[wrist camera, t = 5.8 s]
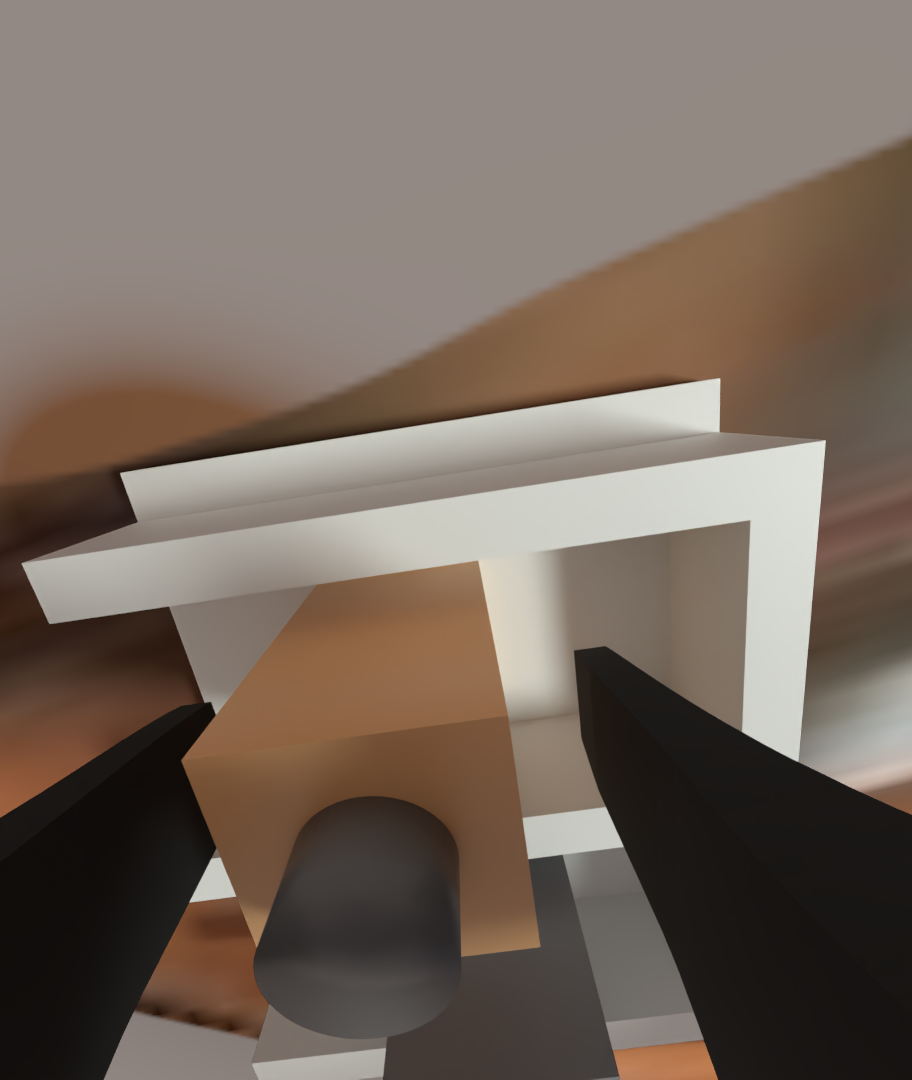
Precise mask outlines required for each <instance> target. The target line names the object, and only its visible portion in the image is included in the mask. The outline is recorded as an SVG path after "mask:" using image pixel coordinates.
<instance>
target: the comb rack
mask: <svg viewBox="0 0 912 1080" xmlns="http://www.w3.org/2000/svg"><path fill="white" fill-rule="evenodd" d="M719 419H720V378H718V379H710V380H702V381H695V382H689V383H683V384H676V385H670V386H664V387H657V388H651V389H645V390H638V391H632V392H626V393H619V394H613V395H607V396H600V397H594V398H588V399H582V400H575V401H569V402H563V403H556V404H550V405H544V406H537V407H531V408H525V409H518V410H512V411H506V412H499V413H493V414H487V415H480V416H474V417H468V418H461V419H455V420H449V421H442V422H436V423H430V424H423V425H417V426H411V427H405V428H398V429H392V430H386V431H379V432H373V433H367V434H360V435H354V436H348V437H341V438H335V439H329V440H322V441H316V442H310V443H303V444H297V445H291V446H284V447H278V448H272V449H265V450H259V451H253V452H246V453H240V454H234V455H228V456H221V457H215V458H209V459H202V460H196V461H190V462H183V463H177V464H171V465H164V466H158V467H152V468H145V469H140V470H134V471H129V472H123V473H120V475H121V478H122V480H123V483H124V486H125V488H126V491H127V494H128V497H129V499H130V502H131V505H132V507H133V510H134V513H135V516H136V518H137V521H138V522H137V523H134V524H132V525H129V526H126V527H123V528H120V529H117V530H115V531H112V532H109V533H106V534H103V535H100V536H98V537H95V538H92V539H89V540H86V541H83V542H81V543H78V544H75V545H72V546H69V547H66V548H64V549H61V550H58V551H55V552H52V553H49V554H47V555H44V556H41V557H38V558H35V559H32V560H29V561H27V562H24V563H21V564H22V566H23V568H24V570H25V572H26V574H27V577H28V579H29V581H30V583H31V585H32V588H33V590H34V592H35V594H36V596H37V598H38V601H39V603H40V605H41V607H42V609H43V611H44V614H45V616H46V618H47V620H48V622H49V624H54V623H61V622H68V621H74V620H81V619H88V618H95V617H101V616H108V615H115V614H122V613H128V612H135V611H142V610H148V609H155V608H162V607H169V608H170V610H171V613H172V616H173V618H174V621H175V624H176V627H177V629H178V632H179V635H180V637H181V640H182V643H183V646H184V648H185V651H186V654H187V656H188V659H189V662H190V665H191V667H192V670H193V673H194V675H195V678H196V681H197V683H198V686H199V689H200V692H201V694H202V697H203V700H204V702H205V703H206V702H211V703H212V705H213V708H214V711H215V714H216V715H217V713H218V712H219V711H220V709H221V708H222V707H223V706H224V704H225V703H226V702H227V700H228V699H229V698H230V696H231V695H232V694H233V693H234V691H235V690H236V689H237V687H238V686H239V685H240V684H241V682H242V681H243V680H244V678H245V677H246V676H247V674H248V673H249V672H250V671H251V669H252V668H253V667H254V665H255V664H256V663H257V661H258V660H259V659H260V658H261V656H262V655H263V654H264V652H265V651H266V650H267V649H268V647H269V646H270V645H271V643H272V642H273V641H274V639H275V638H276V637H277V636H278V634H279V633H280V632H281V630H282V629H283V628H284V626H285V625H286V624H287V623H288V621H289V620H290V619H291V617H292V616H293V615H294V613H295V612H296V611H297V610H298V608H299V607H300V606H301V604H302V603H303V602H304V601H305V599H306V598H307V597H308V595H309V594H310V593H311V591H312V590H313V589H314V588H315V586H316V585H317V584H324V583H330V582H337V581H344V580H351V579H357V578H364V577H371V576H377V575H384V574H391V573H398V572H404V571H411V570H418V569H425V568H431V567H438V566H445V565H452V564H458V563H465V562H472V561H478V562H479V567H480V572H481V577H482V583H483V588H484V593H485V598H486V603H487V608H488V614H489V619H490V624H491V629H492V634H493V639H494V645H495V650H496V655H497V660H498V665H499V671H500V676H501V681H502V686H503V691H504V696H505V702H506V707H507V712H508V718H509V725H510V732H511V739H512V746H513V754H514V761H515V768H516V775H517V782H518V789H519V796H520V804H521V811H522V818H523V825H524V832H525V839H526V847H527V854H528V859H533V858H541V857H549V856H557V855H563V858H564V862H565V866H566V870H567V873H568V877H569V881H570V885H571V889H572V893H573V897H574V901H575V905H576V909H577V913H578V917H579V920H580V924H581V928H582V932H583V936H584V940H585V944H586V948H587V952H588V956H589V960H590V963H591V967H592V971H593V975H594V979H595V983H596V987H597V991H598V995H599V999H600V1003H601V1007H602V1010H603V1014H604V1018H605V1022H606V1026H607V1030H608V1034H609V1038H610V1042H611V1046H612V1050H620V1049H628V1048H637V1047H646V1046H655V1045H663V1044H672V1043H681V1042H690V1041H698V1040H704V1039H703V1036H702V1034H701V1031H700V1028H699V1025H698V1023H697V1020H696V1017H695V1015H694V1012H693V1009H692V1006H691V1004H690V1001H689V998H688V996H687V993H686V990H685V987H684V985H683V982H682V979H681V976H680V974H679V971H678V968H677V966H676V963H675V961H674V959H673V956H672V954H671V951H670V949H669V947H668V944H667V942H666V939H665V937H664V935H663V932H662V930H661V928H660V925H659V923H658V921H657V919H656V917H655V914H654V912H653V910H652V908H651V906H650V903H649V901H648V899H647V897H646V895H645V892H644V890H643V888H642V886H641V884H640V881H639V879H638V877H637V875H636V873H635V870H634V868H633V866H632V864H631V862H630V859H629V857H628V855H627V853H626V851H625V848H624V846H623V844H622V842H621V840H620V837H619V835H618V833H617V831H616V828H615V826H614V824H613V822H612V820H611V817H610V815H609V813H608V811H607V808H606V806H605V804H604V802H603V799H602V797H601V795H600V793H599V790H598V787H597V784H596V782H595V779H594V776H593V773H592V770H591V767H590V764H589V760H588V757H587V754H586V751H585V748H584V745H583V742H582V739H581V729H580V717H579V706H578V694H577V682H576V671H575V659H574V650H580V649H587V648H595V647H602V646H606V647H608V648H609V649H611V650H613V651H614V652H616V653H617V654H619V655H620V656H622V657H623V658H625V659H626V660H628V661H629V662H631V663H632V664H633V665H635V666H636V667H638V668H639V669H641V670H642V671H644V672H645V673H647V674H648V675H650V676H651V677H653V678H654V679H656V680H657V681H659V682H660V683H662V684H663V685H665V686H667V687H668V688H670V689H671V690H673V691H674V692H676V693H677V694H679V695H681V696H682V697H684V698H685V699H687V700H689V701H690V702H692V703H693V704H695V705H697V706H698V707H700V708H701V709H703V710H705V711H707V712H708V713H710V714H712V715H713V716H715V717H717V718H718V719H720V720H722V721H723V722H725V723H727V724H729V725H730V726H732V727H734V728H736V729H738V730H739V731H741V732H743V733H745V734H746V735H748V736H750V737H752V738H753V739H755V740H757V741H759V742H761V743H762V744H764V745H766V746H768V747H770V748H772V749H774V750H776V751H778V752H779V753H781V754H783V755H785V756H787V757H789V758H791V759H793V760H795V761H797V762H798V759H799V748H800V736H801V724H802V712H803V701H804V689H805V677H806V666H807V654H808V642H809V630H810V619H811V607H812V595H813V584H814V572H815V560H816V548H817V537H818V525H819V513H820V501H821V490H822V478H823V466H824V455H825V443H826V440H815V439H801V438H788V437H775V436H761V435H748V434H734V433H721V432H719ZM228 897H236V895H235V892H234V890H233V887H232V885H231V882H230V880H229V877H228V875H227V873H226V870H225V868H224V865H223V863H222V860H221V858H220V855H219V853H218V850H217V848H216V850H215V852H214V855H213V857H212V859H211V861H210V862H209V864H208V866H207V868H206V870H205V872H204V874H203V876H202V878H201V880H200V882H199V884H198V886H197V888H196V890H195V892H194V894H193V896H192V898H191V900H190V902H197V901H205V900H213V899H221V898H228ZM386 1043H387V1037H384V1038H376V1039H347V1038H339V1037H333V1036H328V1035H324V1034H320V1033H317V1032H314V1031H311V1030H308V1029H306V1028H303V1027H301V1026H299V1025H297V1024H295V1023H293V1022H292V1021H290V1020H288V1019H287V1018H285V1017H284V1016H282V1015H281V1014H280V1013H279V1012H277V1011H276V1010H275V1009H274V1008H273V1007H272V1006H271V1005H270V1004H269V1007H268V1011H267V1014H266V1017H265V1021H264V1024H263V1027H262V1030H261V1034H260V1037H259V1040H258V1044H257V1047H256V1050H255V1053H254V1057H253V1060H252V1063H251V1064H252V1066H253V1068H254V1070H255V1072H256V1075H257V1077H258V1079H259V1080H358V1079H365V1078H366V1079H367V1078H374V1077H383V1073H384V1063H385V1053H386Z"/></svg>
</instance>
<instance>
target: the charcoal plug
mask: <svg viewBox="0 0 912 1080" xmlns="http://www.w3.org/2000/svg"><path fill="white" fill-rule="evenodd" d="M528 861H529V868H530V875H531V882H532V889H533V897H534V904H535V911H536V918H537V925H538V932H539V939H540V947H537V948H529V949H521V950H513V951H505V952H496V953H488V954H480V955H472V956H464V957H461V967H462V971H461V981H460V985H459V988H458V990H457V992H456V995H455V997H454V998H453V1000H452V1001H451V1002H450V1004H449V1005H448V1006H447V1007H446V1008H445V1009H444V1010H443V1011H442V1012H441V1013H440V1014H439V1015H438V1016H436V1017H435V1018H434V1019H432V1020H431V1021H429V1022H428V1023H426V1024H424V1025H422V1026H420V1027H418V1028H416V1029H414V1030H411V1031H408V1032H405V1033H402V1034H398V1035H394V1036H390V1037H387V1043H386V1053H385V1063H384V1073H383V1080H620V1078H619V1073H618V1069H617V1065H616V1061H615V1057H614V1053H613V1050H612V1046H611V1042H610V1038H609V1034H608V1030H607V1026H606V1022H605V1018H604V1014H603V1010H602V1007H601V1003H600V999H599V995H598V991H597V987H596V983H595V979H594V975H593V971H592V967H591V963H590V960H589V956H588V952H587V948H586V944H585V940H584V936H583V932H582V928H581V924H580V920H579V917H578V913H577V909H576V905H575V901H574V897H573V893H572V889H571V885H570V881H569V877H568V873H567V870H566V866H565V862H564V858H563V855H557V856H549V857H541V858H533V859H528Z"/></svg>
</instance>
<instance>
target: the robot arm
mask: <svg viewBox="0 0 912 1080" xmlns="http://www.w3.org/2000/svg"><path fill="white" fill-rule="evenodd" d="M574 659H575V671H576V682H577V694H578V706H579V717H580V729H581V739H582V742H583V745H584V748H585V751H586V754H587V757H588V760H589V764H590V767H591V770H592V773H593V776H594V779H595V782H596V784H597V787H598V790H599V793H600V795H601V797H602V799H603V802H604V804H605V806H606V808H607V811H608V813H609V815H610V817H611V820H612V822H613V824H614V826H615V828H616V831H617V833H618V835H619V837H620V840H621V842H622V844H623V846H624V848H625V851H626V853H627V855H628V857H629V859H630V862H631V864H632V866H633V868H634V870H635V873H636V875H637V877H638V879H639V881H640V884H641V886H642V888H643V890H644V892H645V895H646V897H647V899H648V901H649V903H650V906H651V908H652V910H653V912H654V914H655V917H656V919H657V921H658V923H659V925H660V928H661V930H662V932H663V935H664V937H665V939H666V942H667V944H668V947H669V949H670V951H671V954H672V956H673V959H674V961H675V963H676V966H677V968H678V971H679V974H680V976H681V979H682V982H683V985H684V987H685V990H686V993H687V996H688V998H689V1001H690V1004H691V1006H692V1009H693V1012H694V1015H695V1017H696V1020H697V1023H698V1025H699V1028H700V1031H701V1034H702V1036H703V1039H704V1042H705V1044H706V1047H707V1050H708V1053H709V1055H710V1058H711V1061H712V1064H713V1066H714V1069H715V1072H716V1075H717V1077H718V1080H912V815H911V814H908V813H906V812H904V811H901V810H899V809H896V808H894V807H892V806H890V805H888V804H885V803H883V802H881V801H879V800H876V799H874V798H872V797H870V796H868V795H865V794H863V793H861V792H859V791H857V790H854V789H852V788H850V787H848V786H846V785H844V784H842V783H840V782H838V781H836V780H834V779H832V778H830V777H828V776H826V775H824V774H822V773H819V772H817V771H815V770H813V769H811V768H809V767H807V766H805V765H803V764H801V763H799V762H797V761H795V760H793V759H791V758H789V757H787V756H785V755H783V754H781V753H779V752H778V751H776V750H774V749H772V748H770V747H768V746H766V745H764V744H762V743H761V742H759V741H757V740H755V739H753V738H752V737H750V736H748V735H746V734H745V733H743V732H741V731H739V730H738V729H736V728H734V727H732V726H730V725H729V724H727V723H725V722H723V721H722V720H720V719H718V718H717V717H715V716H713V715H712V714H710V713H708V712H707V711H705V710H703V709H701V708H700V707H698V706H697V705H695V704H693V703H692V702H690V701H689V700H687V699H685V698H684V697H682V696H681V695H679V694H677V693H676V692H674V691H673V690H671V689H670V688H668V687H667V686H665V685H663V684H662V683H660V682H659V681H657V680H656V679H654V678H653V677H651V676H650V675H648V674H647V673H645V672H644V671H642V670H641V669H639V668H638V667H636V666H635V665H633V664H632V663H631V662H629V661H628V660H626V659H625V658H623V657H622V656H620V655H619V654H617V653H616V652H614V651H613V650H611V649H609V648H608V647H606V646H602V647H595V648H587V649H580V650H574ZM215 716H216V714H215V711H214V708H213V705H212V703H211V702H206V703H199V704H192V705H185V706H180V707H179V708H177V709H175V710H173V711H171V712H169V713H167V714H165V715H163V716H162V717H160V718H158V719H157V720H155V721H153V722H151V723H150V724H148V725H146V726H145V727H143V728H142V729H140V730H138V731H137V732H135V733H134V734H132V735H130V736H129V737H127V738H126V739H124V740H122V741H121V742H119V743H118V744H116V745H115V746H113V747H112V748H110V749H108V750H107V751H105V752H104V753H102V754H101V755H99V756H97V757H96V758H94V759H93V760H91V761H90V762H88V763H87V764H85V765H84V766H82V767H80V768H79V769H77V770H76V771H74V772H73V773H71V774H70V775H68V776H66V777H65V778H63V779H62V780H60V781H59V782H57V783H56V784H54V785H52V786H51V787H49V788H48V789H46V790H45V791H43V792H41V793H40V794H38V795H37V796H35V797H33V798H32V799H30V800H28V801H27V802H25V803H24V804H22V805H20V806H19V807H17V808H15V809H14V810H12V811H11V812H9V813H7V814H6V815H4V816H3V817H1V818H0V1080H104V1077H105V1075H106V1072H107V1070H108V1068H109V1066H110V1063H111V1061H112V1058H113V1056H114V1054H115V1052H116V1049H117V1047H118V1044H119V1042H120V1040H121V1038H122V1035H123V1033H124V1031H125V1029H126V1027H127V1025H128V1023H129V1020H130V1018H131V1016H132V1014H133V1012H134V1010H135V1008H136V1006H137V1004H138V1002H139V1000H140V997H141V995H142V993H143V991H144V989H145V987H146V985H147V984H148V982H149V980H150V978H151V976H152V974H153V972H154V970H155V968H156V966H157V964H158V962H159V960H160V958H161V956H162V954H163V952H164V950H165V949H166V947H167V945H168V943H169V941H170V939H171V937H172V935H173V933H174V931H175V929H176V927H177V925H178V923H179V921H180V919H181V917H182V916H183V914H184V912H185V910H186V908H187V906H188V904H189V902H190V900H191V898H192V896H193V894H194V892H195V890H196V888H197V886H198V884H199V882H200V880H201V878H202V876H203V874H204V872H205V870H206V868H207V866H208V864H209V862H210V861H211V859H212V857H213V855H214V852H215V850H216V845H215V843H214V840H213V838H212V835H211V833H210V830H209V828H208V826H207V823H206V821H205V818H204V816H203V813H202V811H201V808H200V806H199V803H198V801H197V798H196V796H195V793H194V791H193V788H192V786H191V784H190V781H189V779H188V776H187V774H186V771H185V769H184V766H183V764H182V761H181V760H182V759H183V757H184V756H185V755H186V754H187V752H188V751H189V750H190V748H191V747H192V746H193V744H194V743H195V742H196V741H197V739H198V738H199V737H200V735H201V734H202V733H203V732H204V730H205V729H206V728H207V726H208V725H209V724H210V722H211V721H212V720H213V719H214V717H215Z"/></svg>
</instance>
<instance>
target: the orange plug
mask: <svg viewBox="0 0 912 1080" xmlns="http://www.w3.org/2000/svg"><path fill="white" fill-rule="evenodd" d="M181 761H182V764H183V766H184V769H185V771H186V774H187V776H188V779H189V781H190V784H191V786H192V788H193V791H194V793H195V796H196V798H197V801H198V803H199V806H200V808H201V811H202V813H203V816H204V818H205V821H206V823H207V826H208V828H209V830H210V833H211V835H212V838H213V840H214V843H215V845H216V848H217V850H218V853H219V855H220V858H221V860H222V863H223V865H224V868H225V870H226V873H227V875H228V877H229V880H230V882H231V885H232V887H233V890H234V892H235V895H236V897H237V900H238V902H239V905H240V907H241V910H242V912H243V915H244V917H245V919H246V922H247V924H248V927H249V929H250V932H251V934H252V937H253V939H254V942H255V944H256V947H257V949H256V953H255V956H254V967H253V968H254V976H255V979H256V982H257V986H258V987H259V989H260V991H261V993H262V995H263V996H264V998H265V999H266V1000H267V1002H268V1003H269V1004H270V1005H271V1006H272V1007H273V1008H274V1009H275V1010H276V1011H277V1012H279V1013H280V1014H281V1015H282V1016H284V1017H285V1018H287V1019H288V1020H290V1021H292V1022H293V1023H295V1024H297V1025H299V1026H301V1027H303V1028H306V1029H308V1030H311V1031H314V1032H317V1033H320V1034H324V1035H328V1036H333V1037H339V1038H347V1039H376V1038H384V1037H390V1036H394V1035H398V1034H402V1033H405V1032H408V1031H411V1030H414V1029H416V1028H418V1027H420V1026H422V1025H424V1024H426V1023H428V1022H429V1021H431V1020H432V1019H434V1018H435V1017H436V1016H438V1015H439V1014H440V1013H441V1012H442V1011H443V1010H444V1009H445V1008H446V1007H447V1006H448V1005H449V1004H450V1002H451V1001H452V1000H453V998H454V997H455V995H456V992H457V990H458V988H459V985H460V981H461V971H462V967H461V957H464V956H472V955H480V954H488V953H496V952H505V951H513V950H521V949H529V948H537V947H540V939H539V932H538V925H537V918H536V911H535V904H534V897H533V889H532V882H531V875H530V868H529V861H528V854H527V847H526V839H525V832H524V825H523V818H522V811H521V804H520V796H519V789H518V782H517V775H516V768H515V761H514V754H513V746H512V739H511V732H510V725H509V718H508V712H507V707H506V702H505V696H504V691H503V686H502V681H501V676H500V671H499V665H498V660H497V655H496V650H495V645H494V639H493V634H492V629H491V624H490V619H489V614H488V608H487V603H486V598H485V593H484V588H483V583H482V577H481V572H480V567H479V562H478V561H472V562H465V563H458V564H452V565H445V566H438V567H431V568H425V569H418V570H411V571H404V572H398V573H391V574H384V575H377V576H371V577H364V578H357V579H351V580H344V581H337V582H330V583H324V584H317V585H316V586H315V588H314V589H313V590H312V591H311V593H310V594H309V595H308V597H307V598H306V599H305V601H304V602H303V603H302V604H301V606H300V607H299V608H298V610H297V611H296V612H295V613H294V615H293V616H292V617H291V619H290V620H289V621H288V623H287V624H286V625H285V626H284V628H283V629H282V630H281V632H280V633H279V634H278V636H277V637H276V638H275V639H274V641H273V642H272V643H271V645H270V646H269V647H268V649H267V650H266V651H265V652H264V654H263V655H262V656H261V658H260V659H259V660H258V661H257V663H256V664H255V665H254V667H253V668H252V669H251V671H250V672H249V673H248V674H247V676H246V677H245V678H244V680H243V681H242V682H241V684H240V685H239V686H238V687H237V689H236V690H235V691H234V693H233V694H232V695H231V696H230V698H229V699H228V700H227V702H226V703H225V704H224V706H223V707H222V708H221V709H220V711H219V712H218V713H217V715H216V716H215V717H214V719H213V720H212V721H211V722H210V724H209V725H208V726H207V728H206V729H205V730H204V732H203V733H202V734H201V735H200V737H199V738H198V739H197V741H196V742H195V743H194V744H193V746H192V747H191V748H190V750H189V751H188V752H187V754H186V755H185V756H184V757H183V759H182V760H181Z"/></svg>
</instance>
